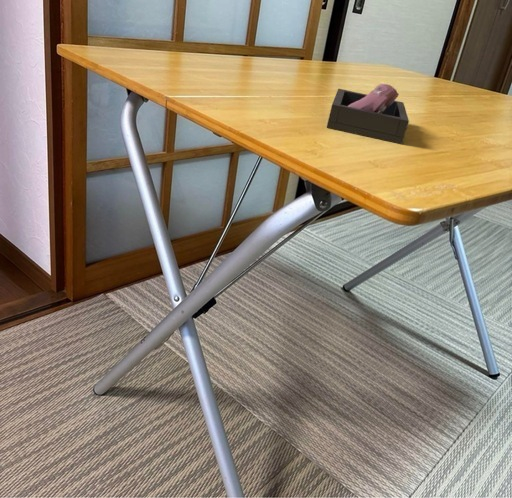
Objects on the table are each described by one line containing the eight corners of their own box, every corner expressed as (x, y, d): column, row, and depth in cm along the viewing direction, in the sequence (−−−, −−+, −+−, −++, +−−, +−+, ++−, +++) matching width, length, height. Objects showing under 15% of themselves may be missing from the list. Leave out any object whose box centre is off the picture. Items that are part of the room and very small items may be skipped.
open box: (397, 122, 90) (403, 102, 88) (401, 144, 76) (409, 120, 75) (333, 108, 91) (338, 88, 89) (326, 127, 77) (332, 104, 76)
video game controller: (360, 134, 79) (391, 98, 75) (339, 114, 80) (369, 77, 76) (378, 125, 87) (407, 92, 83) (359, 107, 88) (387, 73, 84)
